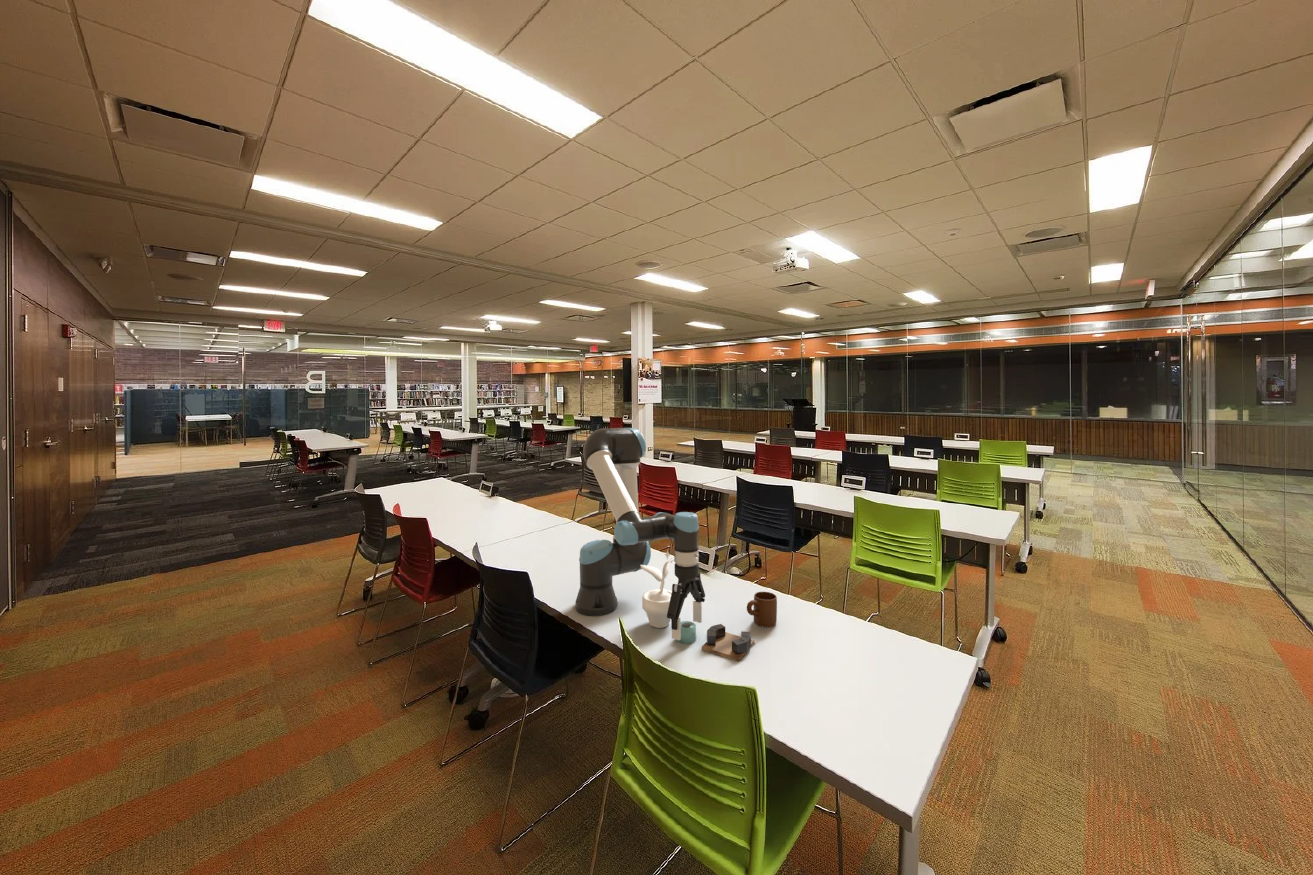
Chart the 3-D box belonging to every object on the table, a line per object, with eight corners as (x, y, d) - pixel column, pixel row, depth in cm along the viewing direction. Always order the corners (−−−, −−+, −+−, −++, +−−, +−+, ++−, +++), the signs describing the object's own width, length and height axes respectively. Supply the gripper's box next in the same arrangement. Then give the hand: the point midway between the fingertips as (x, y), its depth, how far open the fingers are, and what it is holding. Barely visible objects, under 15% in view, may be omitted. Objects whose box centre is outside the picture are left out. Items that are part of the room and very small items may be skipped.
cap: (673, 640, 147) (673, 626, 147) (682, 632, 152) (682, 618, 152) (690, 646, 144) (690, 631, 143) (699, 637, 149) (699, 623, 149)
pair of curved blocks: (702, 644, 143) (702, 634, 143) (715, 631, 151) (715, 622, 151) (742, 656, 136) (742, 646, 136) (754, 642, 144) (754, 632, 144)
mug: (755, 633, 151) (755, 605, 151) (739, 624, 158) (739, 597, 157) (781, 624, 158) (781, 597, 157) (764, 615, 164) (765, 589, 164)
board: (701, 649, 142) (701, 646, 142) (718, 633, 152) (718, 630, 152) (739, 661, 135) (739, 657, 135) (754, 643, 145) (754, 640, 145)
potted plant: (682, 620, 161) (682, 548, 159) (668, 635, 150) (668, 558, 149) (648, 613, 166) (648, 543, 164) (633, 627, 156) (633, 553, 154)
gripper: (676, 577, 134) (677, 650, 135) (715, 554, 155) (715, 617, 156) (654, 572, 138) (655, 643, 139) (694, 550, 159) (695, 612, 160)
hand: (687, 630), depth 147 cm, fingers open, 13 cm apart
